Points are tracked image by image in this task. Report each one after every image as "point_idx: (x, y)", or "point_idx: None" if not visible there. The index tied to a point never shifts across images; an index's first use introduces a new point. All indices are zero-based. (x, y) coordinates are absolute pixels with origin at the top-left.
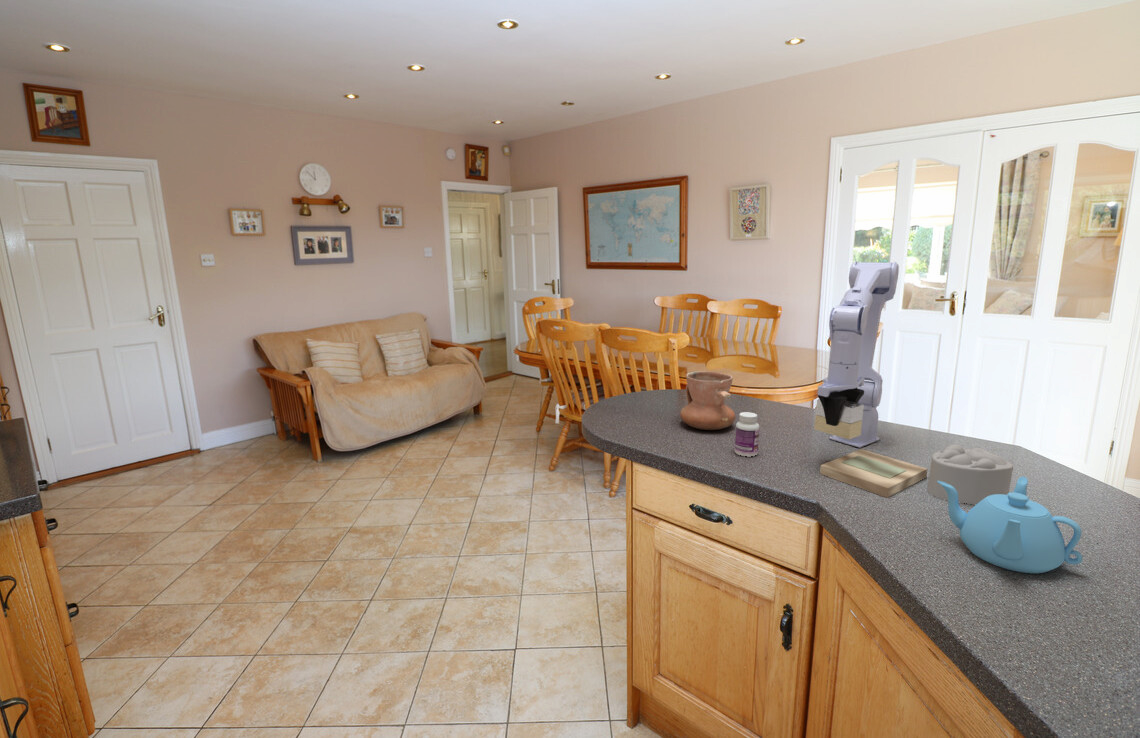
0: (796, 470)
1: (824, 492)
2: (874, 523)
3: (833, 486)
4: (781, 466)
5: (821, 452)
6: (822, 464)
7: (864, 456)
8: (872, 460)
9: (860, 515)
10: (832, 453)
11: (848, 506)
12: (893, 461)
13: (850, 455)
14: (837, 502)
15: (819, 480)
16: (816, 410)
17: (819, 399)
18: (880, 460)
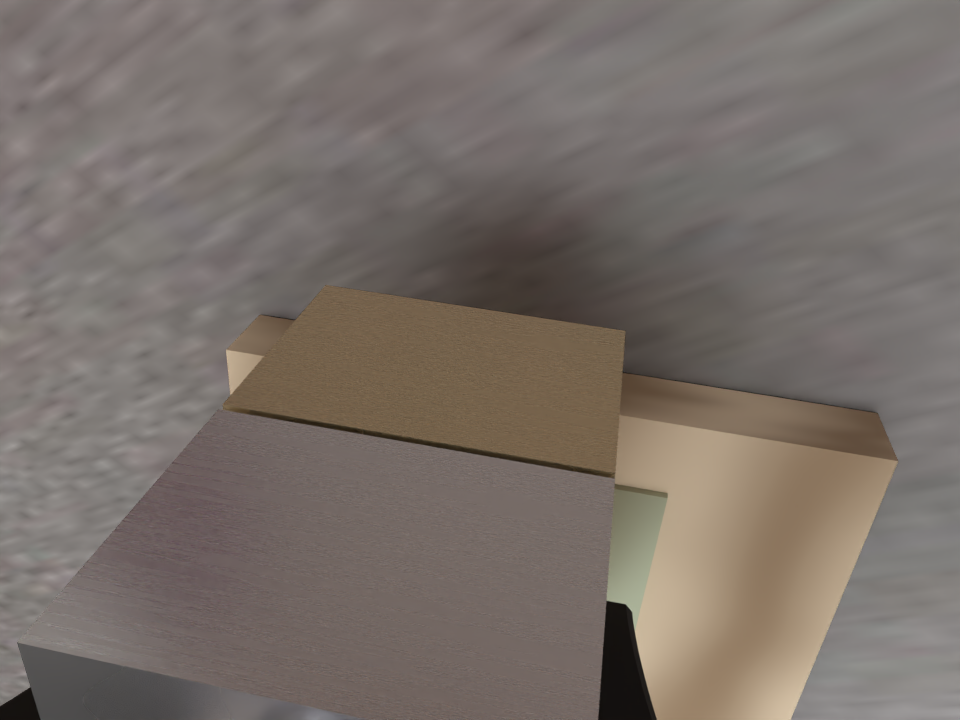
0: (161, 154)
1: (48, 438)
2: (7, 668)
3: (164, 446)
4: (115, 10)
5: (767, 101)
6: (247, 354)
7: (698, 524)
8: (626, 592)
9: (10, 620)
10: (814, 196)
11: (32, 566)
12: (739, 680)
13: (636, 442)
14: (17, 520)
15: (162, 354)
16: (173, 468)
17: (101, 675)
18: (690, 621)
